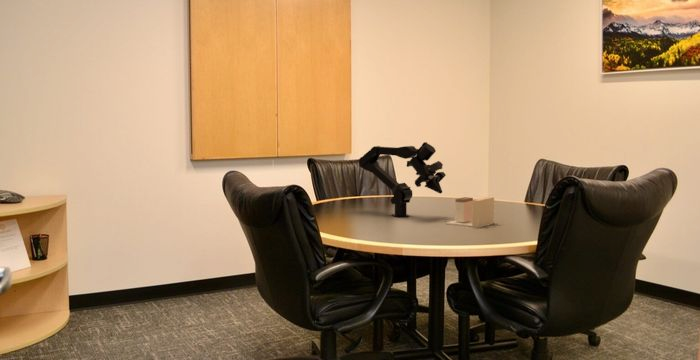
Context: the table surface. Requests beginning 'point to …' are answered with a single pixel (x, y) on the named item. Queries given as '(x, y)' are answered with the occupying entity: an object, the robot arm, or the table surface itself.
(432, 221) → the table surface
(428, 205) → the table surface
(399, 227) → the table surface
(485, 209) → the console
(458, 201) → the brown topped beige block
